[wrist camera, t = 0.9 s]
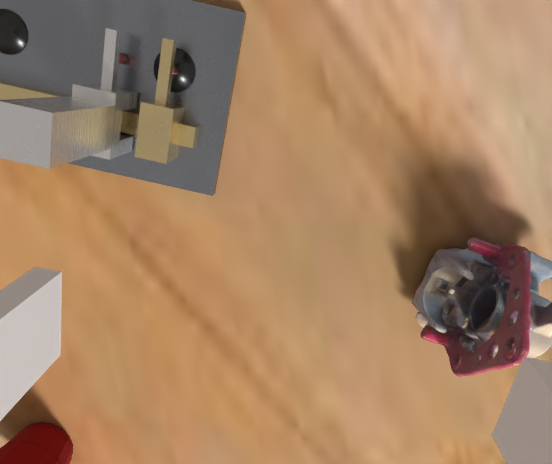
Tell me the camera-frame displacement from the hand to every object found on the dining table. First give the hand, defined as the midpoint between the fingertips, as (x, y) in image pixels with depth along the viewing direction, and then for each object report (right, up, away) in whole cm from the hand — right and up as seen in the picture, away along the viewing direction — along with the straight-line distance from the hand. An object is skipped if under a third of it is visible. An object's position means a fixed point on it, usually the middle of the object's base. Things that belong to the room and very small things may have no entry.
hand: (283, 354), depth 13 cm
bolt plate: (-15, +16, +23) cm, 31 cm away
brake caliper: (+17, -1, +26) cm, 31 cm away
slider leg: (-12, +14, +22) cm, 29 cm away
